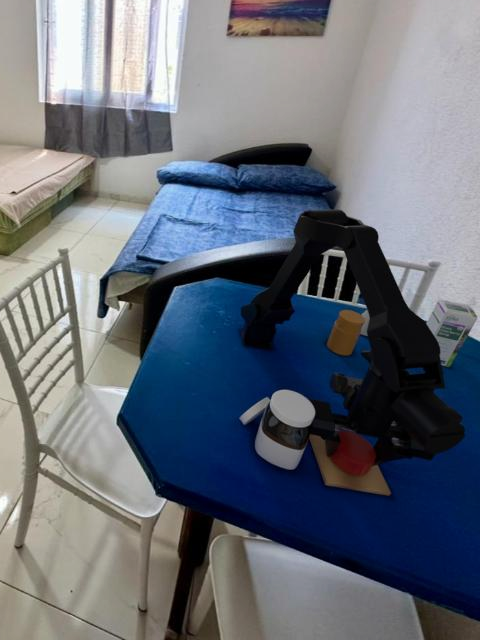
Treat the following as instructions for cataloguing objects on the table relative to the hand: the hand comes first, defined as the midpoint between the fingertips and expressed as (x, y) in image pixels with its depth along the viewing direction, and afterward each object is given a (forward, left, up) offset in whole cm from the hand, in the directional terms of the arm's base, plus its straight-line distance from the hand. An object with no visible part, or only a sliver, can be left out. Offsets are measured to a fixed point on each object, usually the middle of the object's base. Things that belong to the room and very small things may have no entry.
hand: (348, 459), depth 71 cm
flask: (+20, +42, -1) cm, 47 cm away
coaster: (0, 0, -1) cm, 1 cm away
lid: (0, 0, 0) cm, 0 cm away
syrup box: (+31, +34, -1) cm, 46 cm away
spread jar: (-13, +2, -1) cm, 13 cm away
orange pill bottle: (+10, +33, -1) cm, 35 cm away
